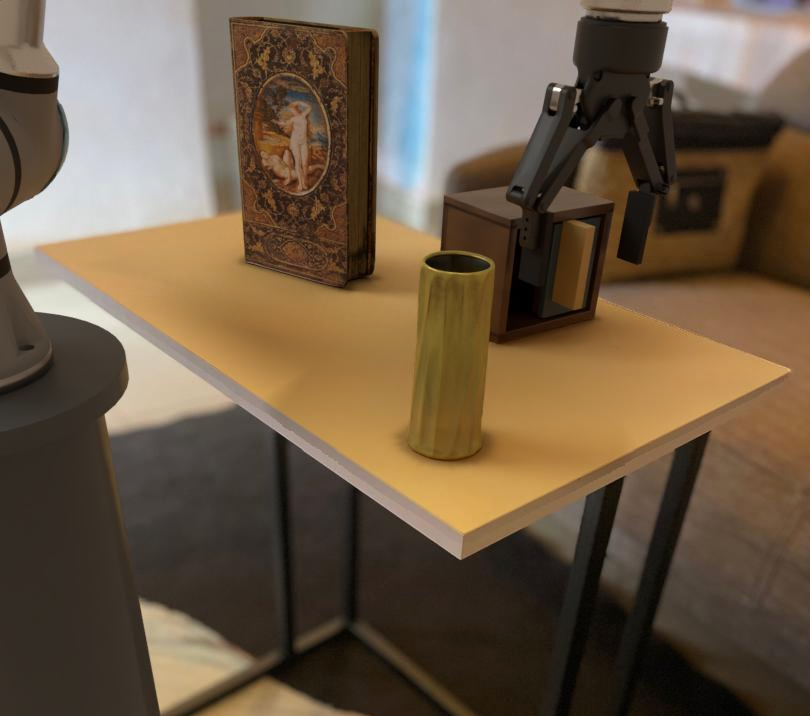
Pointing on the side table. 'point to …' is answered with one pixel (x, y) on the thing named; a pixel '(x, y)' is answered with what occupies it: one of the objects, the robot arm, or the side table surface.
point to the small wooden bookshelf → (519, 253)
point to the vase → (451, 354)
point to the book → (307, 145)
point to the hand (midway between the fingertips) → (581, 271)
